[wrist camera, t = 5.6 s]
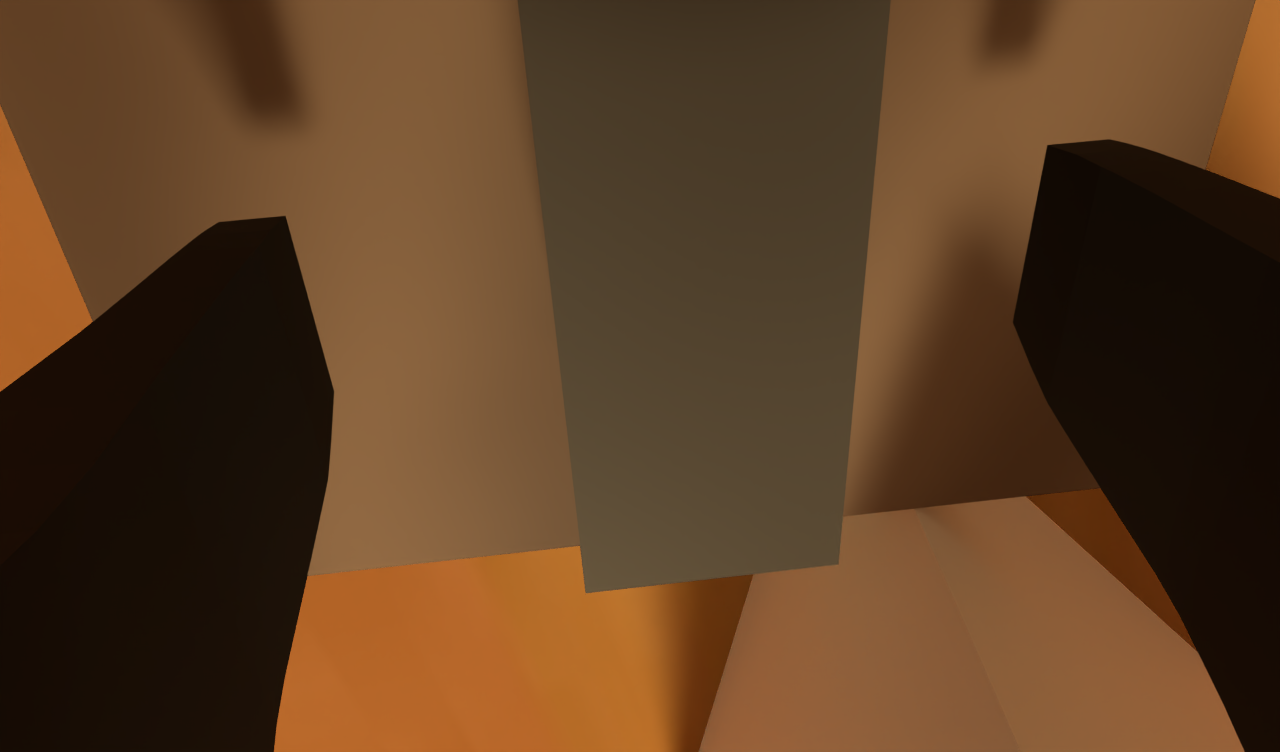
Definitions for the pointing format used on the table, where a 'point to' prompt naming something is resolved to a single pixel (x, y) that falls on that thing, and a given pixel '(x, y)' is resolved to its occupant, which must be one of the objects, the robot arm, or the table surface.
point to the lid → (621, 242)
